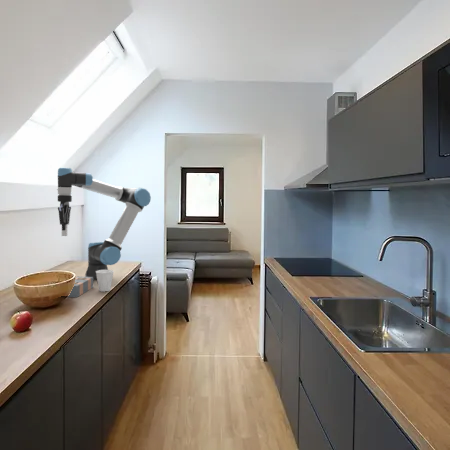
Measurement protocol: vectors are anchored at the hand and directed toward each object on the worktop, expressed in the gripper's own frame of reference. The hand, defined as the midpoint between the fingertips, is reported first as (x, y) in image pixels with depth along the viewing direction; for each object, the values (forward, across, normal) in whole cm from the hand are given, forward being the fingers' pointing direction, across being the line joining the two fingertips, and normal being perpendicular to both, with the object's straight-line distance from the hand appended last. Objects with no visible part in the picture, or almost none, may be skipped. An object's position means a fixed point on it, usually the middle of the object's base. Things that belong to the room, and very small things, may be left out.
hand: (64, 235), depth 233 cm
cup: (+30, +7, +26) cm, 40 cm away
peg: (+29, +6, +12) cm, 32 cm away
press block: (+29, +12, +12) cm, 34 cm away
